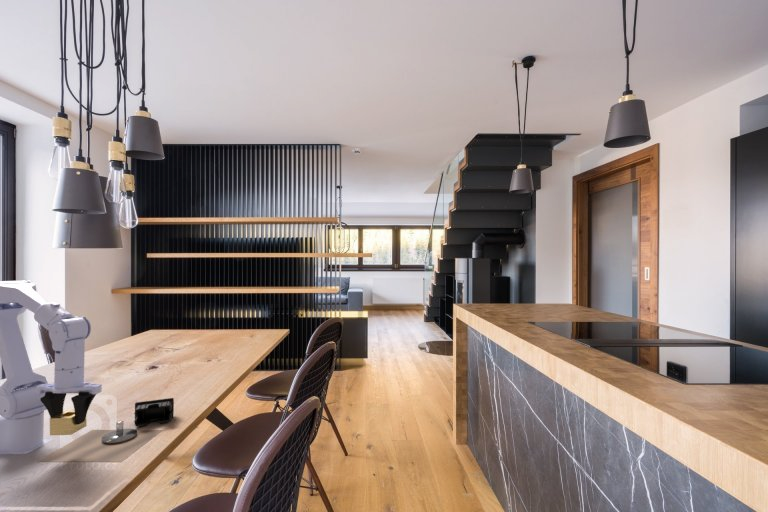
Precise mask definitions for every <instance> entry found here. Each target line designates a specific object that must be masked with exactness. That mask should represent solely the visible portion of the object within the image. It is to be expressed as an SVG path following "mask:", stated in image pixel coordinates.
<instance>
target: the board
mask: <svg viewBox="0 0 768 512" xmlns="http://www.w3.org/2000/svg"><path fill="white" fill-rule="evenodd" d="M115 430H116V429H92V430H91V429H90V430H89V431H88V432H86V433H84V434H82V435H80V436H79V437H77V438H75V439H74V440H73V441H71V442H69V443H67V444H65V445H63V446H62V447H60V448H58V449H56V450H55V451H53V452H51V453H50V454H48V455H46V456H44V457H43V458H41V459H38V461H36V463H123V461H125V460H126V459H127V458H129V457H130V456H131V455H133V454H134V453H136V452H137V451H138V450H139V449H140V448H142V447H143V446H145V444H147V443H148V442H150V441H151V440H152V439H154V438H155V437H156V436H158V434H160V433H162V432H163V431H164V430H163V429H136V430H137V436H136V437H135V438H133V439H131V440H129V441H126V442H123V443H119V444H103V443H102V442H101V441H102V437H103V436H104V435H105V434H107V433H109V432H112V431H115Z"/></svg>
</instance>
